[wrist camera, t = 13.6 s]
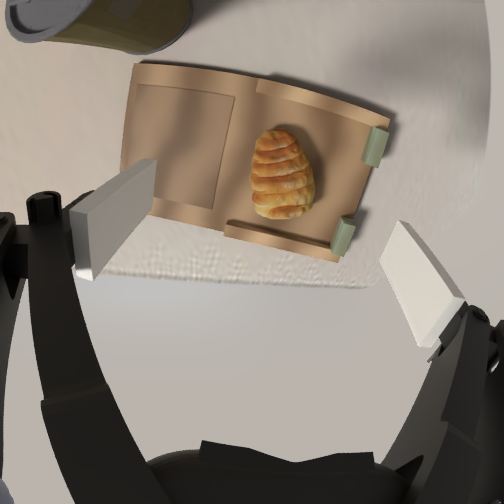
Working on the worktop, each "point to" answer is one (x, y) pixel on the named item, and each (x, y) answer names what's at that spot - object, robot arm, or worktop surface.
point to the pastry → (281, 176)
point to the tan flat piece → (248, 153)
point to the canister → (100, 22)
